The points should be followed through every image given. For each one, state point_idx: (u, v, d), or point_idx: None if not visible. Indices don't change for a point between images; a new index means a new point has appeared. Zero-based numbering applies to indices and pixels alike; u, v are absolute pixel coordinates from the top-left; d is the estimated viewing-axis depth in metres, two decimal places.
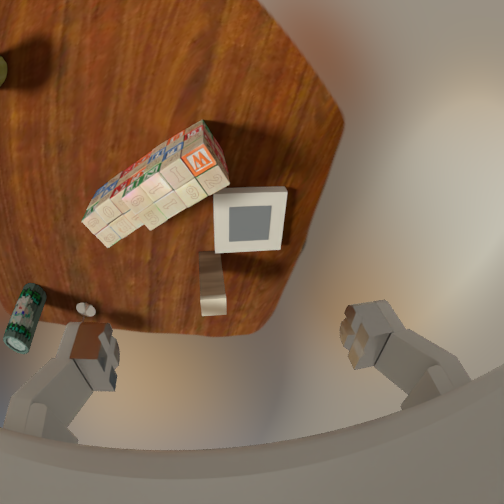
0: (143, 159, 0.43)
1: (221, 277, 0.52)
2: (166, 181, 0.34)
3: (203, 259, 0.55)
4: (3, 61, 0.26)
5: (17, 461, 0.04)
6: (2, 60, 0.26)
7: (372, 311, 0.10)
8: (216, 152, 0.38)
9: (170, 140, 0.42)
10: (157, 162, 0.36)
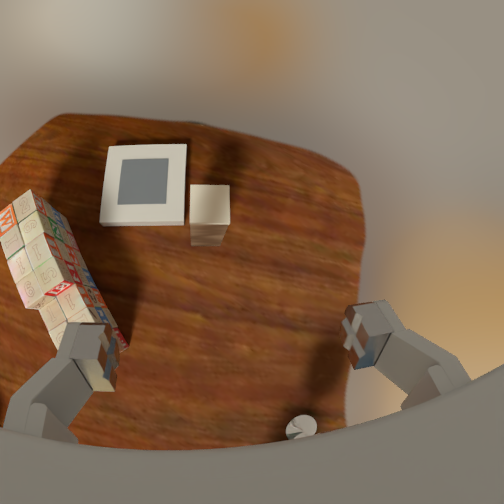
0: None
1: None
2: (16, 253, 0.26)
3: None
4: None
5: (17, 461, 0.04)
6: None
7: (372, 311, 0.10)
8: None
9: None
10: None
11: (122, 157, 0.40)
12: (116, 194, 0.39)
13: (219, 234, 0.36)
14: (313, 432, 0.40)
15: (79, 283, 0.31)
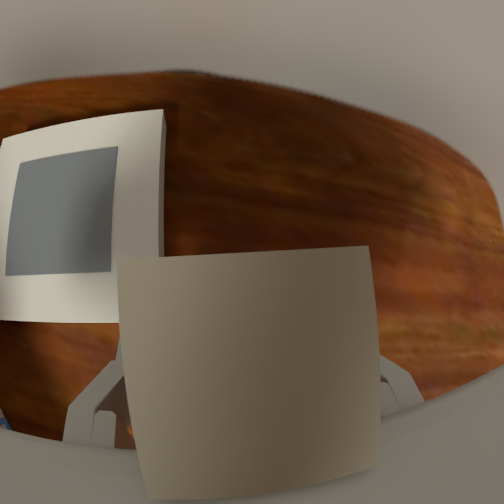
0: None
1: None
2: None
3: None
4: None
5: (17, 461, 0.04)
6: None
7: None
8: None
9: None
10: None
11: (21, 158, 0.14)
12: (4, 249, 0.13)
13: None
14: None
15: None
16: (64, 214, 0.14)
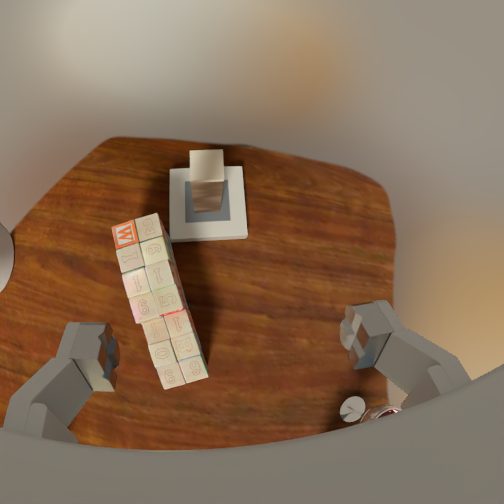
0: None
1: None
2: (133, 270, 0.34)
3: None
4: None
5: (17, 461, 0.04)
6: None
7: (372, 311, 0.10)
8: None
9: None
10: None
11: (184, 179, 0.48)
12: (183, 213, 0.47)
13: (217, 195, 0.41)
14: (362, 411, 0.46)
15: (186, 308, 0.39)
16: None
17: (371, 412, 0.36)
